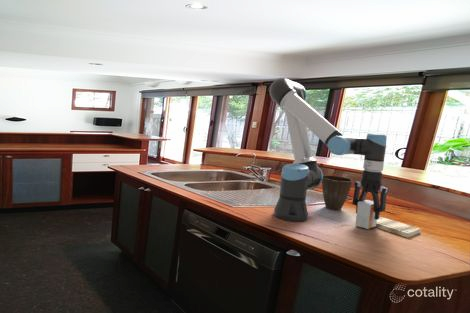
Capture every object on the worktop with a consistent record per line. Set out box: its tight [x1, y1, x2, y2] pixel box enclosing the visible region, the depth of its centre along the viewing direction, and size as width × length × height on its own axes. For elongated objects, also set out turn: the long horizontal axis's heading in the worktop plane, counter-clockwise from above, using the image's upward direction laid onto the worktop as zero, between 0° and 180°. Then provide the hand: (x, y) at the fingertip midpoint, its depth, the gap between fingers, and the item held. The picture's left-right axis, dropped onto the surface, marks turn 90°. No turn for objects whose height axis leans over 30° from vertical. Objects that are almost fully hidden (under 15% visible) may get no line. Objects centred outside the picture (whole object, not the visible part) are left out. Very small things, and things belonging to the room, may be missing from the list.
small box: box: [354, 199, 377, 230], centre depth 122 cm, size 8×6×10 cm
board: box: [374, 215, 421, 239], centre depth 126 cm, size 22×12×2 cm, turn 38°
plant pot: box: [321, 174, 354, 211], centre depth 148 cm, size 15×15×16 cm
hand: (366, 223), depth 123 cm, fingers closed on small box, 6 cm apart
